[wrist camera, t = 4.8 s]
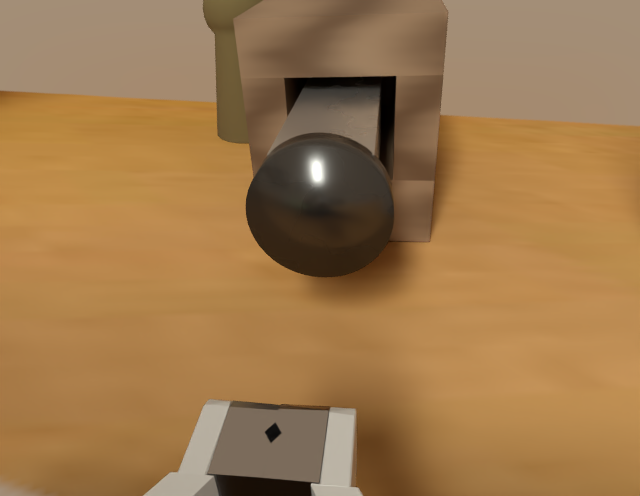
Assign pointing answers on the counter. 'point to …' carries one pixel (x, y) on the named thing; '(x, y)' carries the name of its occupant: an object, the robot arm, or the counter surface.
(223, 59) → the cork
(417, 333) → the counter surface
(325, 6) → the block
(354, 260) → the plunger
